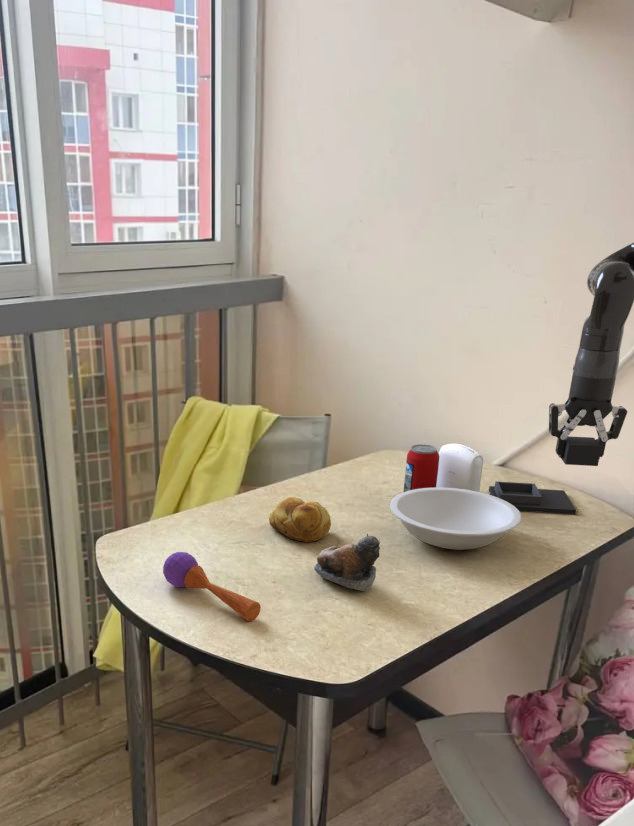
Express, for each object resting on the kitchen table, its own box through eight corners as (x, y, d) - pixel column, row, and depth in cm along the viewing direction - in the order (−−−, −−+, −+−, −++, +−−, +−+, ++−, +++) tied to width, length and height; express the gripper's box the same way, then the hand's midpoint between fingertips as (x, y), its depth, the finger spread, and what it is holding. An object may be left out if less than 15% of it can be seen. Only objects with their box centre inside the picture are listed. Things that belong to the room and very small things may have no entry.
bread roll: (258, 530, 153) (258, 492, 150) (291, 517, 159) (293, 480, 156) (306, 550, 144) (308, 510, 141) (340, 536, 150) (342, 497, 147)
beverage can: (406, 493, 172) (412, 441, 167) (437, 498, 169) (443, 446, 164) (399, 503, 166) (404, 450, 162) (430, 508, 164) (436, 454, 159)
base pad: (563, 494, 172) (565, 482, 171) (575, 514, 161) (578, 502, 160) (488, 490, 174) (490, 478, 173) (496, 509, 164) (498, 497, 162)
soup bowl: (543, 549, 145) (549, 517, 142) (451, 579, 134) (456, 544, 131) (449, 509, 164) (453, 479, 161) (361, 532, 152) (364, 500, 150)
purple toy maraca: (238, 606, 116) (153, 556, 129) (241, 636, 120) (158, 584, 132) (265, 587, 120) (180, 540, 132) (267, 617, 123) (184, 568, 135)
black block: (590, 456, 155) (593, 437, 153) (597, 466, 149) (601, 446, 148) (558, 455, 156) (562, 436, 154) (565, 464, 150) (568, 444, 149)
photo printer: (431, 495, 171) (437, 441, 166) (444, 491, 173) (451, 438, 168) (466, 509, 163) (474, 453, 158) (480, 505, 165) (488, 450, 160)
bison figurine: (306, 578, 134) (308, 524, 130) (332, 565, 138) (335, 513, 134) (362, 602, 126) (366, 546, 122) (387, 588, 131) (392, 533, 126)
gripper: (558, 375, 143) (543, 461, 150) (641, 378, 141) (622, 465, 148) (550, 367, 150) (536, 450, 157) (629, 369, 148) (611, 453, 154)
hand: (578, 457), depth 152 cm, fingers closed on black block, 6 cm apart
